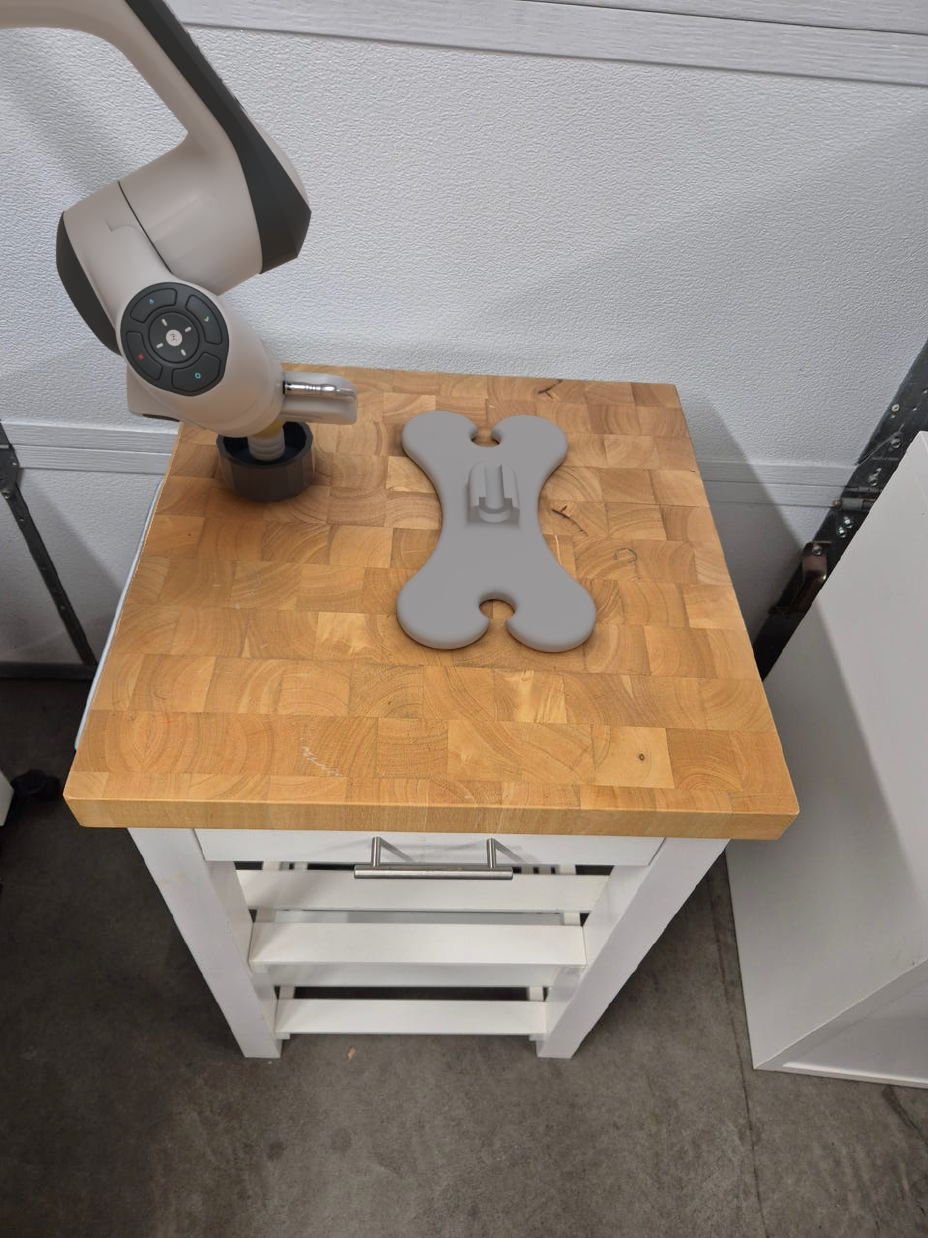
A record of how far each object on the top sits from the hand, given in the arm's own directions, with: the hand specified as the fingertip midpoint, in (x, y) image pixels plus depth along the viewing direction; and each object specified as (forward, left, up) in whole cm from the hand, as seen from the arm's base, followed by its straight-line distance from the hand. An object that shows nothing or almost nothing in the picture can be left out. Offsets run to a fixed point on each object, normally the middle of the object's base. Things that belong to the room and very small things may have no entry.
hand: (262, 407), depth 83 cm
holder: (+24, -7, -8) cm, 26 cm away
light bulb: (0, -1, -6) cm, 6 cm away
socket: (0, -1, -8) cm, 8 cm away
